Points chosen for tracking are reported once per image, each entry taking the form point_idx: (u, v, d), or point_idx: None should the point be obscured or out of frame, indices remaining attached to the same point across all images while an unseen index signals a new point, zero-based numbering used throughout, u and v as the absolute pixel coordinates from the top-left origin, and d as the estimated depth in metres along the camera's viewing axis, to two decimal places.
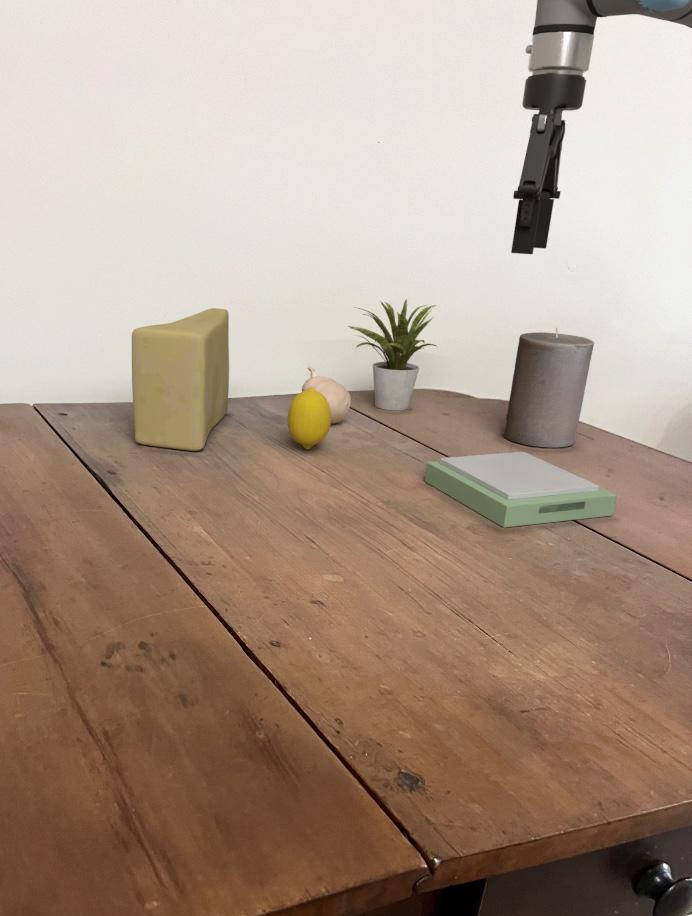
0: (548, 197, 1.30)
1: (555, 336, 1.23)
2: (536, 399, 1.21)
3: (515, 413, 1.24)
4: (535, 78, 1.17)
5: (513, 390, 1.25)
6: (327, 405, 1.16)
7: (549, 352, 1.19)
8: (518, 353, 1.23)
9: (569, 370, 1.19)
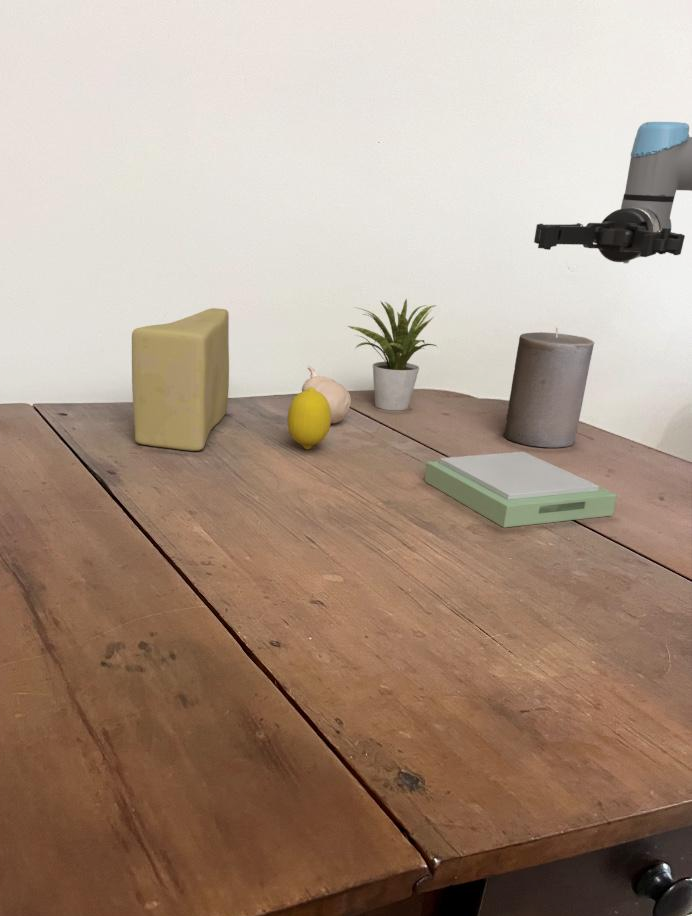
0: (659, 239, 1.25)
1: (555, 336, 1.23)
2: (536, 399, 1.21)
3: (515, 413, 1.24)
4: None
5: (513, 390, 1.25)
6: (327, 405, 1.16)
7: (549, 352, 1.19)
8: (518, 353, 1.23)
9: (569, 370, 1.19)
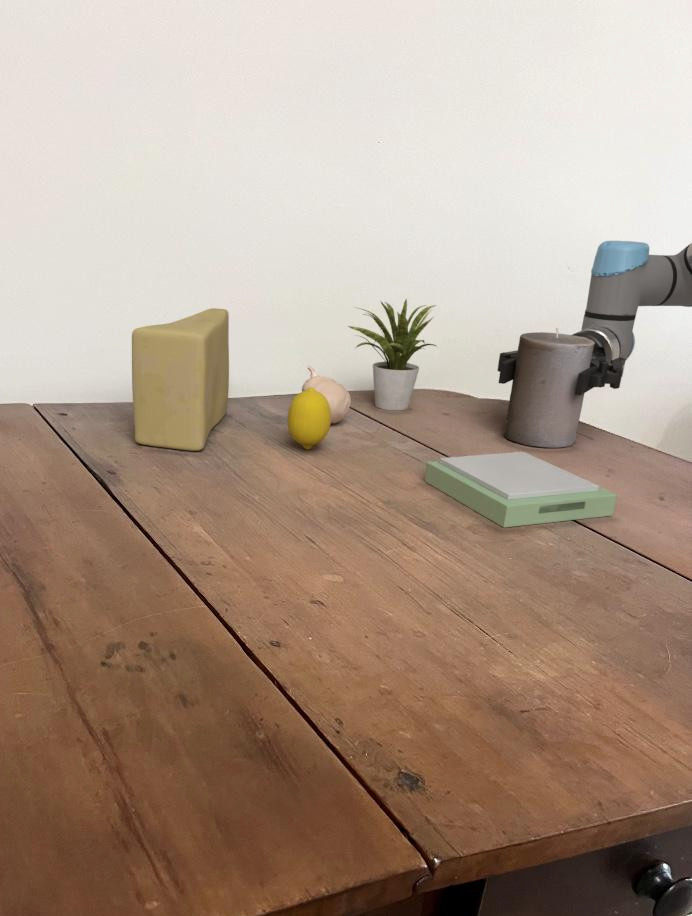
0: None
1: (555, 336, 1.23)
2: (537, 399, 1.21)
3: (515, 413, 1.24)
4: None
5: (513, 390, 1.24)
6: (327, 405, 1.16)
7: (549, 352, 1.18)
8: (518, 353, 1.23)
9: (569, 370, 1.19)
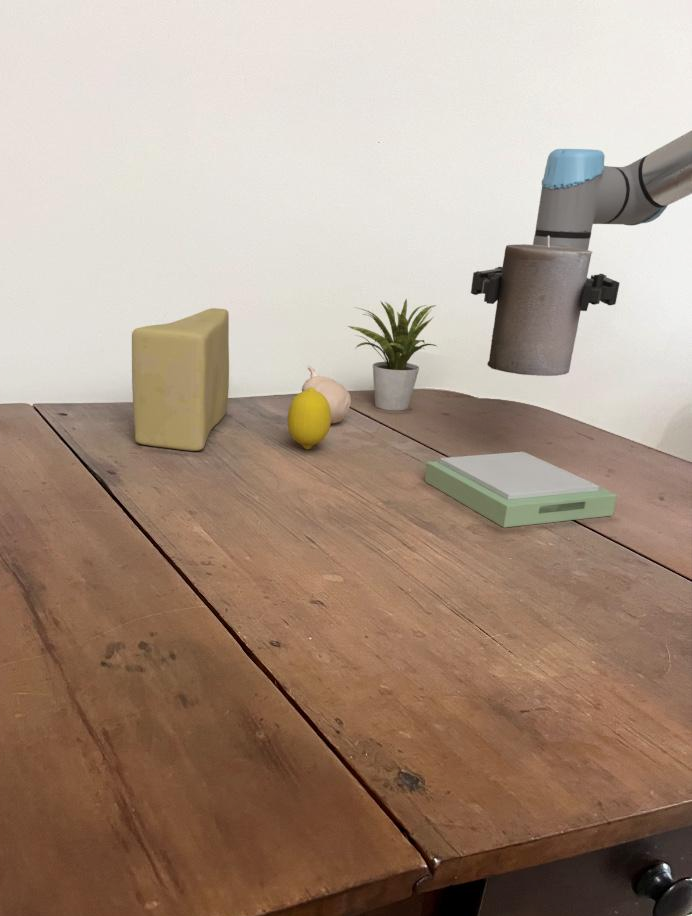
0: (591, 287, 1.07)
1: (545, 246, 1.06)
2: (535, 319, 1.04)
3: (507, 338, 1.07)
4: None
5: (502, 311, 1.07)
6: (327, 405, 1.16)
7: (549, 262, 1.01)
8: (507, 267, 1.05)
9: (571, 283, 1.03)
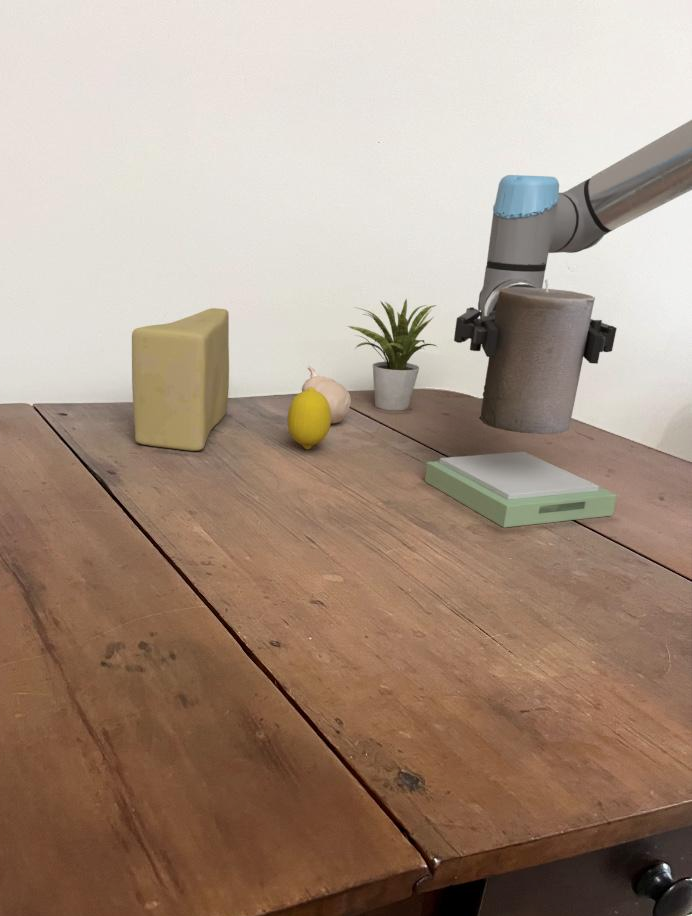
0: None
1: (541, 290, 0.95)
2: (541, 373, 0.94)
3: (509, 394, 0.96)
4: None
5: (501, 364, 0.96)
6: (327, 405, 1.16)
7: (558, 311, 0.91)
8: (506, 315, 0.94)
9: (579, 333, 0.93)
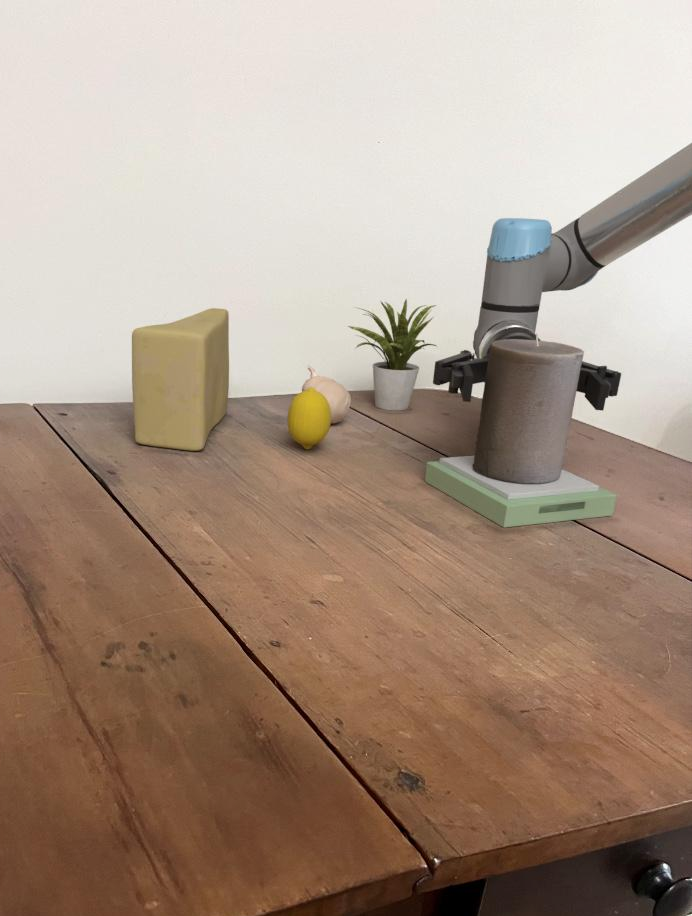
0: None
1: (532, 344, 0.98)
2: (532, 425, 0.96)
3: (501, 445, 0.98)
4: None
5: (493, 416, 0.98)
6: (327, 405, 1.16)
7: (548, 366, 0.93)
8: (497, 369, 0.96)
9: (568, 386, 0.95)
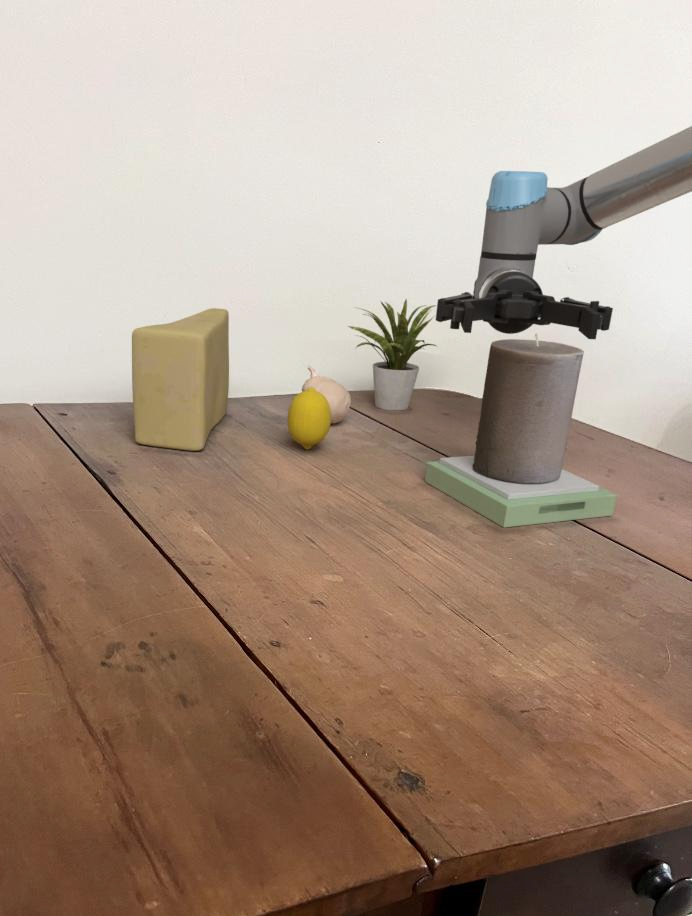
0: None
1: (531, 344, 0.98)
2: (532, 425, 0.96)
3: (501, 445, 0.98)
4: None
5: (493, 416, 0.98)
6: (327, 405, 1.16)
7: (548, 366, 0.93)
8: (497, 369, 0.96)
9: (568, 386, 0.95)
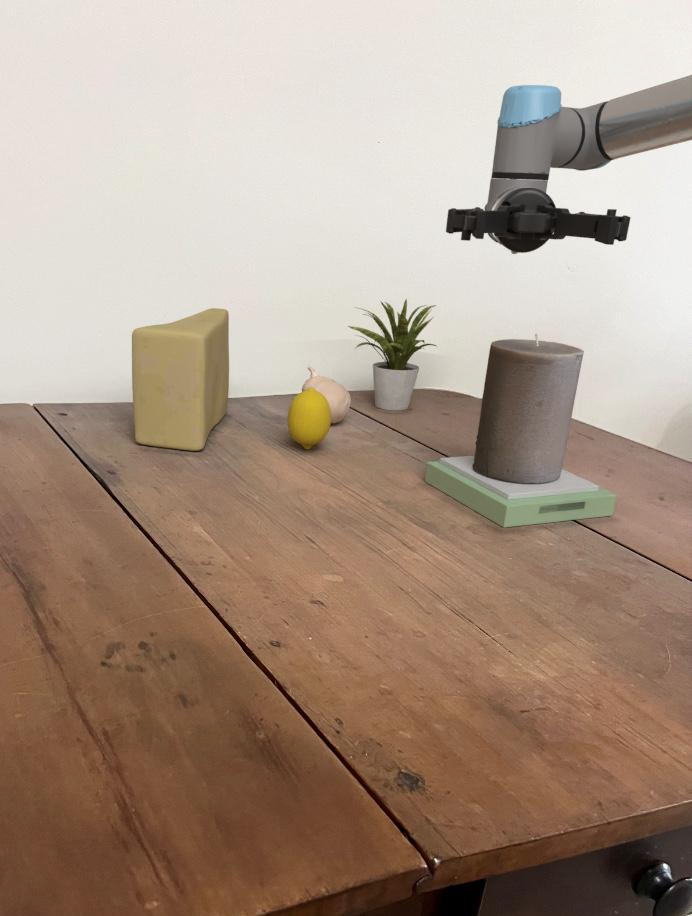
0: None
1: (531, 344, 0.98)
2: (532, 425, 0.96)
3: (501, 445, 0.98)
4: None
5: (493, 416, 0.98)
6: (327, 405, 1.16)
7: (547, 366, 0.93)
8: (497, 369, 0.96)
9: (568, 386, 0.95)
